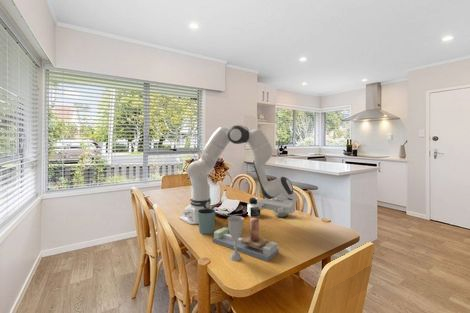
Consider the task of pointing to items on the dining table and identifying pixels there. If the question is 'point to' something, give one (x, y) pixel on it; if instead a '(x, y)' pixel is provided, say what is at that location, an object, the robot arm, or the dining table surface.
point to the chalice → (235, 233)
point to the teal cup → (206, 220)
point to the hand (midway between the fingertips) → (268, 209)
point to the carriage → (254, 235)
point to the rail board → (226, 240)
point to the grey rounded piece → (280, 214)
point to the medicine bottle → (253, 208)
